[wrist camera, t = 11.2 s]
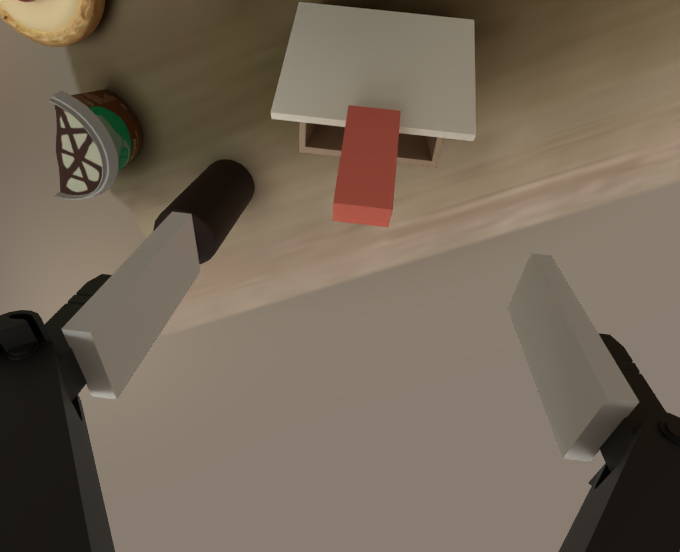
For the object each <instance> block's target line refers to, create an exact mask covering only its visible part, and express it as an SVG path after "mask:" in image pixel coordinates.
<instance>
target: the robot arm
mask: <svg viewBox="0 0 680 552" xmlns="http://www.w3.org/2000/svg"><path fill="white" fill-rule="evenodd" d="M199 273H200V266H199V259H198V253H197V246H196V240H195V234H194V227H193V221H192V214H188V213H179V212H171V213H170V214H169V216H168V217H167V218H166V219H165V220H164V221H163V222H162V223H161V224H160V225H159V226H158V227H157V228H156V229H155V230H154V231H153V232H152V234H151V235H150V236H149V237H148V238H147V239H146V240H145V241H144V242H143V243H142V244H141V245H140V246H139V247H138V248H137V249H136V251H135V252H134V253H133V254H132V255H131V256H130V257H129V258H128V259H127V260H126V261H125V262H124V263H123V264H122V265H121V266H120V268H118V270H117V271H116V272H115V273H114V274H113V275H106V274H101V275H99V276H98V277H96V278H94V279H92V280H90V281H89V282H87V283H86V284H85V285H84V286H83V287H82V288H81V289H80V290H79V291H78V292H77V294H76V295H74V296H73V297H72V298H71V299H70V300H69V301H68V304H65V305H64V306H63V307H62V308H61V309H60V310H59V311H58V312H57V313H56V314H55V315H54V316H53V317H52V318H51V319H50V320H49V321H48V322H47V323H46V324H45V325H44V323H43V321H42V319H41V317H40V316H39V314H38V313H35V312H33V311H27V310H19V311H14V312H9V313H6V314H3V315H0V552H115V550H114V545H113V541H112V536H111V532H110V527H109V523H108V518H107V514H106V510H105V505H104V501H103V496H102V492H101V487H100V483H99V479H98V475H97V470H96V465H95V461H94V456H93V452H92V447H91V443H90V439H89V434H88V430H87V425H86V421H85V416H84V412H83V408H82V403H81V400H80V398H79V396H78V394H79V392H80V391H81V389H82V388H83V387H84V386H85V384H87V387H88V389H89V391H90V393H91V395H92V396H94V397H102V398H109V399H118V397H119V396H120V394H121V392H122V391H123V389H124V388H125V386H126V385H127V383H128V382H129V380H130V379H131V377H132V376H133V374H134V372H135V371H136V369H137V368H138V366H139V365H140V363H141V362H142V360H143V359H144V357H145V356H146V354H147V352H148V351H149V349H150V348H151V346H152V345H153V343H154V342H155V340H156V339H157V337H158V336H159V334H160V333H161V331H162V329H163V328H164V326H165V325H166V323H167V322H168V320H169V319H170V317H171V316H172V314H173V313H174V311H175V310H176V308H177V306H178V305H179V303H180V302H181V300H182V299H183V297H184V296H185V294H186V293H187V291H188V290H189V288H190V286H191V285H192V283H193V282H194V280H195V279H196V277H197V276H198V274H199ZM508 311H509V313H510V316H511V319H512V322H513V324H514V327H515V330H516V332H517V335H518V338H519V341H520V343H521V346H522V348H523V351H524V354H525V357H526V360H527V362H528V365H529V367H530V370H531V373H532V375H533V378H534V381H535V384H536V387H537V389H538V392H539V395H540V397H541V400H542V403H543V405H544V408H545V411H546V413H547V416H548V419H549V422H550V424H551V427H552V430H553V432H554V435H555V438H556V441H557V443H558V446H559V449H560V451H561V454H562V457H563V458H566V459H573V460H581V461H589V462H590V461H591V460H592V459H593V457H594V456H595V455H596V453H598V451H599V450H601V453H602V455H603V457H604V460H605V462H606V463H605V465H604V466H603V467H602V468H601V469H600V470H599V471H598V472H597V474H596V475H595V476H594V477H593V478H592V479H591V480H590V482H589V484H590V485H592V487H591V489H590V491H589V493H588V495H587V497H586V499H585V501H584V503H583V505H582V507H581V509H580V511H579V513H578V515H577V517H576V518H575V520H574V522H573V524H572V527H571V529H570V530H569V533H568V534H567V536H566V538H565V540H564V542H563V544H562V546H561V548H560V550H559V552H679V551H680V418H679V417H677V416H675V415H672V414H670V413H666V411H665V410H664V408H663V407H662V405H661V403H660V402H659V400H658V399H657V398H656V396H655V394H654V393H653V391H652V390H651V388H650V387H649V385H648V384H647V382H646V380H645V379H644V377H643V376H642V374H639V370H638V368H637V367H636V365H635V363H632V359H631V357H630V356H629V355H628V353H627V351H626V350H625V348H624V347H623V346H622V345H621V344H620V343H619V342H617V341H616V340H615V339H614V338H613V337H612V336H610V335H607V334H599V333H598V332H597V331H596V329H595V328H594V326H593V324H592V322H591V321H590V319H589V317H588V316H587V314H586V312H585V311H584V309H583V307H582V306H581V304H580V302H579V301H578V299H577V298H576V296H575V294H574V293H573V291H572V289H571V288H570V286H569V284H568V282H567V281H566V279H565V277H564V276H563V274H562V273H561V271H560V269H559V268H558V266H557V264H556V263H555V261H554V259H553V258H552V256H549V255H541V254H532V253H531V255H530V257H529V259H528V262H527V264H526V266H525V269H524V271H523V273H522V276H521V278H520V281H519V283H518V285H517V288H516V290H515V293H514V294H513V297H512V299H511V302H510V304H509V306H508Z"/></svg>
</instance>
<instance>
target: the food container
mask: <svg viewBox="0 0 680 552" xmlns="http://www.w3.org/2000/svg"><path fill="white" fill-rule="evenodd" d="M48 101H49V102H51V103H53V104H55V110H56V116H57V137H56V138H57V139H56V154H57V160H58V165H59V172H60V190H61V191H60V192H59V193H57V194H56V195H55V197H59V198H62V199H68V200H77V199H86V198H90V197H93V196H96V195H99V194H102V193H103V192H105V191H107V190H108V189H109V188H110V187H111V186H112V185H113V183H114V181H115V180H116V177H117V174H118V172H119V171H120V170H121V169H122V168H123V167H124V166H125V165H126V164H128V163H129V162H130V161H131V160H132V159H133V158H134V157H135V156H136V155H137V154H138V153H139V152H140V150H141V147H142V143H143V134H142V129H141V126H140V123H139V121H138V119H137V117H136V116H135V114H134V112H133V111H132V110H131V109H130V107H129V106H128V105H127V104H126V103H125V102H124V101H123V100H121V99H120V98H119V97H118V96H116V95H114V94H113V93H111V92H109V91H107V90H100V91H94V92H88V93H82V94H76V95H69V94H67V93H65V92H62V91H60V92H58V93H56V94H55V95H53V96H52V99H50V100H48Z"/></svg>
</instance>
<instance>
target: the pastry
mask: <svg viewBox="0 0 680 552" xmlns="http://www.w3.org/2000/svg"><path fill="white" fill-rule="evenodd" d="M104 7H105V0H0V17H1V18H2V19H3V20H4V21H5V22H6V23H7V24H8V25H9V26H10V27H11V28H13V29H14V30H15V31H17V32H18V33H19V34H21V35H23V36H24V37H26V38H28V39H30V40H32V41H34V42H36V43H39V44H42V45H46V46H50V47H62V46H68V45H71V44H74V43H77V42H79V41H81V40H83V39H85V38H86V37H88V36H89V35H91V34H92V33H93V32H94V30H95V29H96V27H97V26H98V24H99V22H100V20H101V18H102V16H103V12H104Z"/></svg>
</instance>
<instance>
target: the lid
mask: <svg viewBox="0 0 680 552" xmlns="http://www.w3.org/2000/svg"><path fill="white" fill-rule="evenodd" d="M271 117H272V119H278V120H287V121H296V122H305V123H314V124H323V125H332V126H341V127H345V131H344V138H343V144H342V150H341V157H340V163H339V170H338V176H337V183H336V189H335V196H334V202H333V221H340V222H348V223H357V224H365V225H374V226H382V227H388V226H389V222H390V218H391V214H392V210H393V199H394V187H395V175H396V163H397V151H398V139H399V133H404V134H413V135H422V136H431V137H440V138H449V139H458V140H467V141H474V139H475V136H476V97H475V35H474V20H472V19H462V18H452V17H442V16H433V15H423V14H413V13H403V12H394V11H384V10H374V9H364V8H355V7H345V6H335V5H325V4H316V3H306V2H299V4H298V8H297V11H296V15H295V19H294V23H293V27H292V31H291V35H290V39H289V43H288V47H287V50H286V54H285V58H284V62H283V66H282V70H281V74H280V78H279V82H278V86H277V89H276V93H275V97H274V101H273V105H272V109H271Z"/></svg>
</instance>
